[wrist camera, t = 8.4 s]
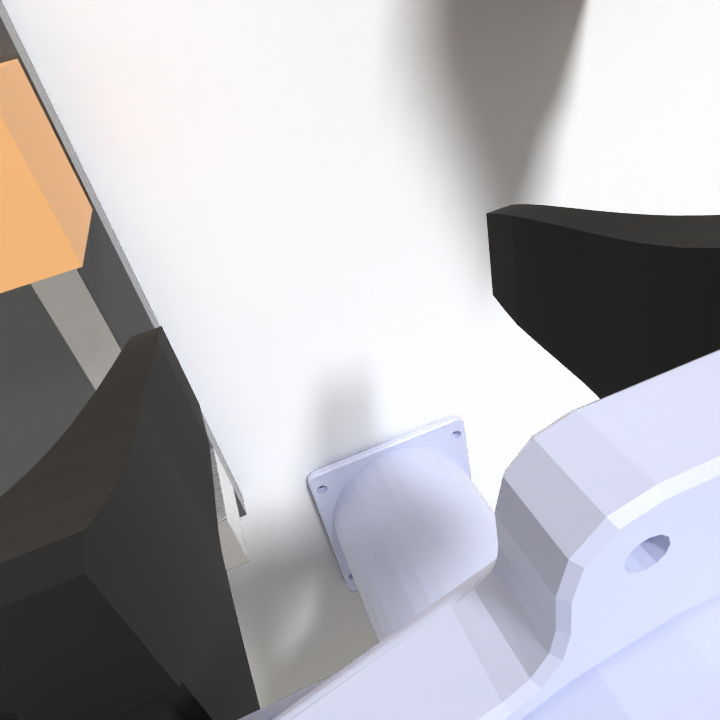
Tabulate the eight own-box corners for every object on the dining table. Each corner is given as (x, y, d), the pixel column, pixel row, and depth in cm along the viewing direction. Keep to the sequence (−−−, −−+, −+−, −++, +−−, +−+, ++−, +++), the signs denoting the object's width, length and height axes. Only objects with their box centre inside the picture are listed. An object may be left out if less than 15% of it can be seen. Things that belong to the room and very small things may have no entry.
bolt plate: (242, 495, 26) (267, 606, 22) (44, 575, 25) (24, 711, 20) (-28, -58, 14) (-107, -88, 10) (-439, 36, 13) (-776, 58, 8)
